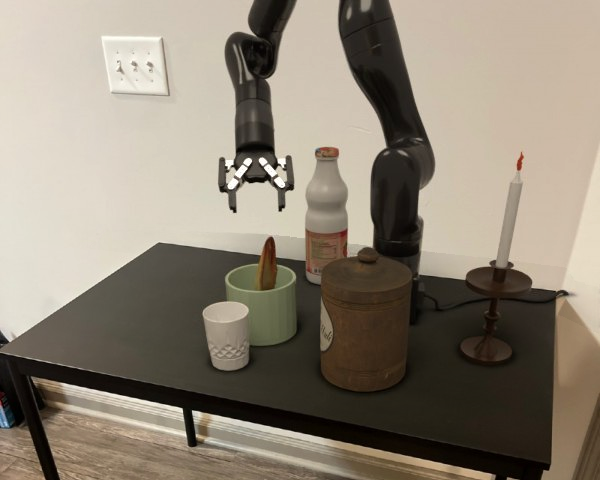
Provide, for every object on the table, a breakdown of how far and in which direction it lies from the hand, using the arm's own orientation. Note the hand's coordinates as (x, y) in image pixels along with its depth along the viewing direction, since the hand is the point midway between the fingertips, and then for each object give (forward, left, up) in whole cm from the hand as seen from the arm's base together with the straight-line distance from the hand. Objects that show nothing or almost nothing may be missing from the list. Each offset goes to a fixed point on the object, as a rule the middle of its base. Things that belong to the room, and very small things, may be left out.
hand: (257, 210), depth 113 cm
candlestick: (-43, +12, -21) cm, 50 cm away
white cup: (+3, +20, -21) cm, 29 cm away
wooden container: (-21, +20, -21) cm, 36 cm away
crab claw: (-1, +7, -20) cm, 21 cm away
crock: (-1, +7, -21) cm, 22 cm away
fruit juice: (-11, -19, -21) cm, 31 cm away
